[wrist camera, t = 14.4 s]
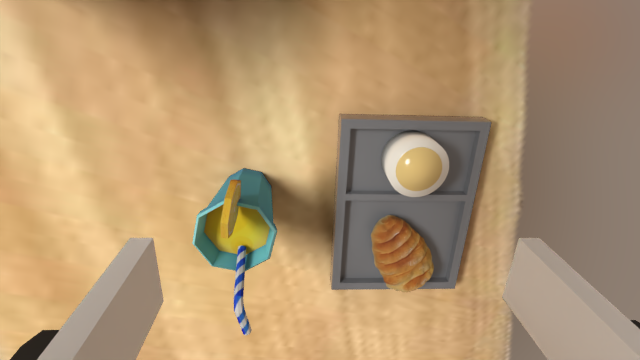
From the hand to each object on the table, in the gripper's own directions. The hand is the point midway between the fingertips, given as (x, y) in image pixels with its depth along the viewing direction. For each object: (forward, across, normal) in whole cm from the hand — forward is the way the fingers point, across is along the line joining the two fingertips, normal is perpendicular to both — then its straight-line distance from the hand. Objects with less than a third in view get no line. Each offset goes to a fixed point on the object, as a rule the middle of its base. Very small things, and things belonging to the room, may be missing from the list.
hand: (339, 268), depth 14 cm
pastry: (+27, +11, -18) cm, 34 cm away
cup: (+29, -7, -11) cm, 32 cm away
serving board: (+29, +11, -12) cm, 33 cm away
